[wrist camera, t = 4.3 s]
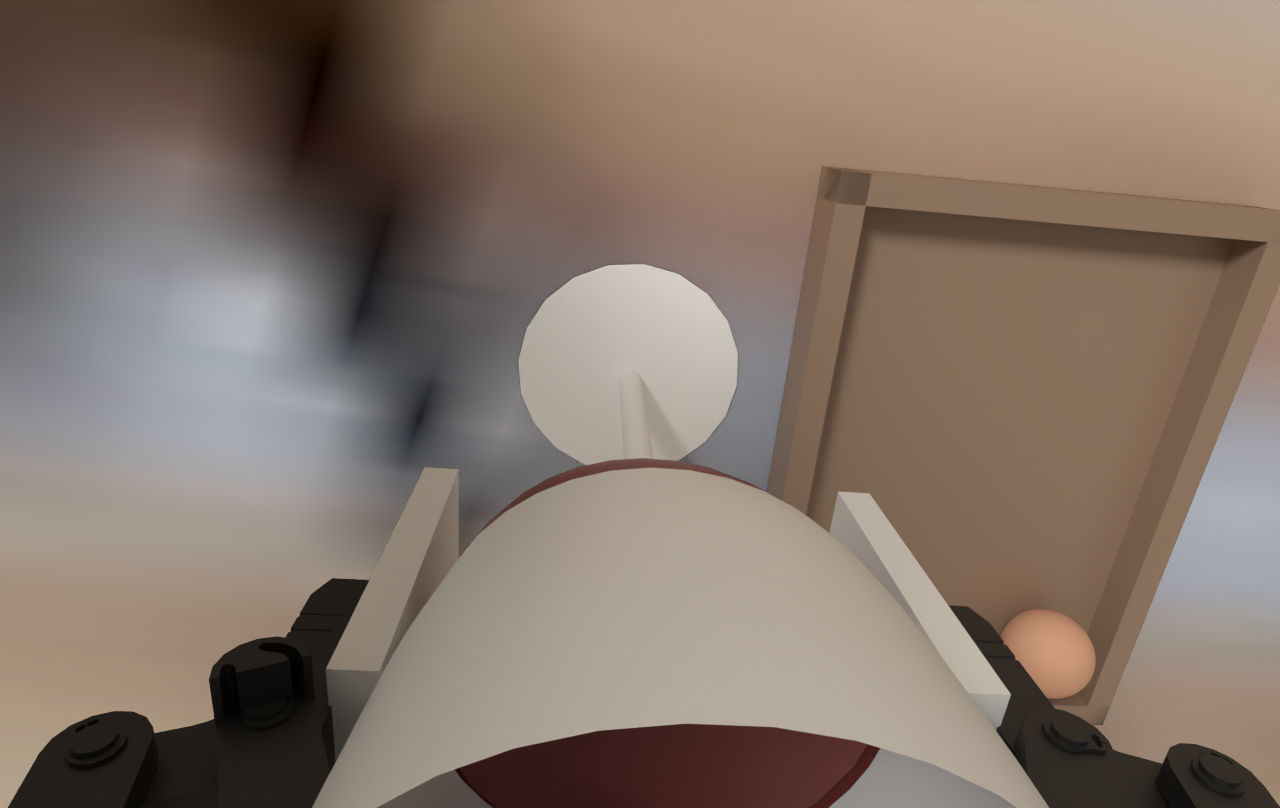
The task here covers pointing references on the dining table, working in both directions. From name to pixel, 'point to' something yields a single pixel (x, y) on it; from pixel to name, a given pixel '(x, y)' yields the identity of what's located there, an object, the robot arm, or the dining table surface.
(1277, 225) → the tray
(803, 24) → the dining table surface
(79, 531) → the dining table surface
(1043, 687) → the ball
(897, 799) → the wineglass
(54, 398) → the dining table surface
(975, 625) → the robot arm
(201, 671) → the dining table surface
